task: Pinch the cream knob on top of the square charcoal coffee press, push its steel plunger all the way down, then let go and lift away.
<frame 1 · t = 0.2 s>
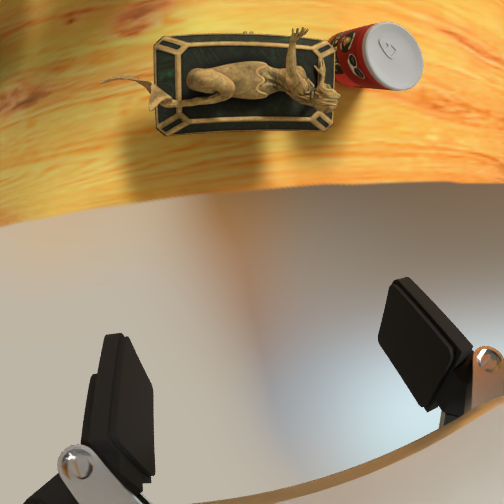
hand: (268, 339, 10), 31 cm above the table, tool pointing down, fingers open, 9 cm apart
canned food: (347, 59, 34), on the table
decorative box: (219, 83, 33), on the table
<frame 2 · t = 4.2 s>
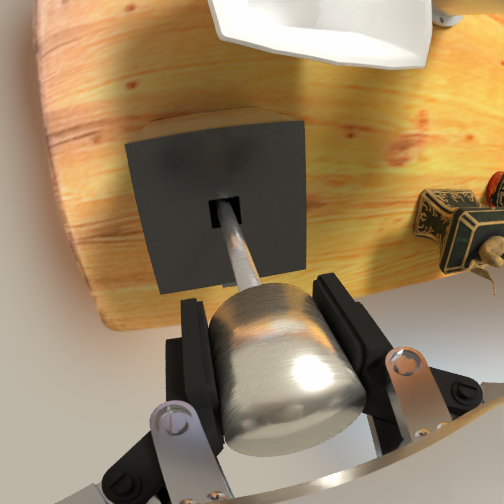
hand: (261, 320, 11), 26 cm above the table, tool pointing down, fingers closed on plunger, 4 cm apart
plunger: (236, 246, 16), point 21 cm above the table, slide at 0.0 cm, touching gripper
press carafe: (208, 160, 34), on the table
canned food: (496, 188, 45), on the table
decorative box: (437, 210, 44), on the table
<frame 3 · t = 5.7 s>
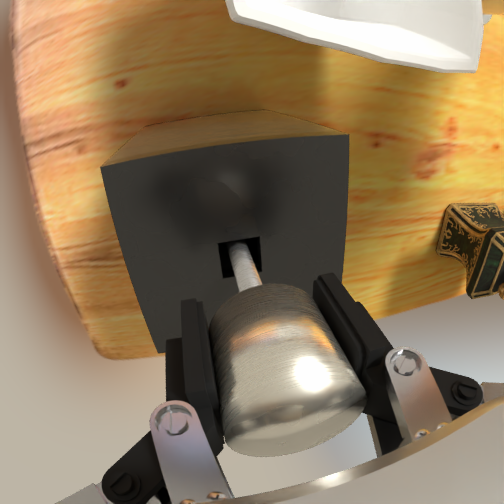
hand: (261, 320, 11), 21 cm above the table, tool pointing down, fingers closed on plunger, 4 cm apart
plunger: (237, 246, 16), point 15 cm above the table, slide at 5.9 cm, touching gripper
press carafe: (212, 172, 29), on the table
decorative box: (461, 226, 39), on the table
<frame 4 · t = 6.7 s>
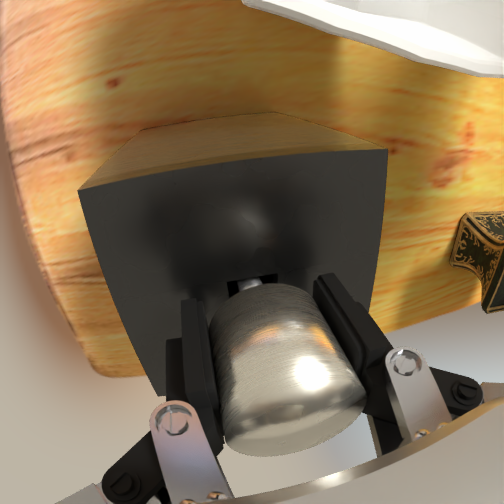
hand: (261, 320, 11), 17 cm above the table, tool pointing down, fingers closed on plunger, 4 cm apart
plunger: (237, 246, 16), point 12 cm above the table, slide at 9.1 cm, touching gripper
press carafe: (215, 182, 26), on the table
decorative box: (474, 235, 37), on the table
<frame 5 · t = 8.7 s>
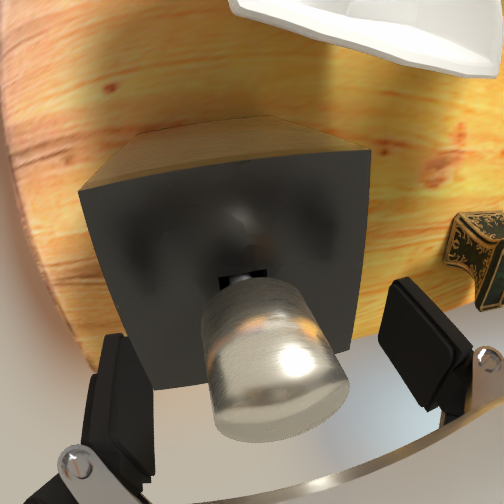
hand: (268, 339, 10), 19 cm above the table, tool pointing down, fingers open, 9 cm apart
plunger: (229, 245, 17), point 12 cm above the table, slide at 9.1 cm
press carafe: (210, 184, 27), on the table
decorative box: (468, 235, 38), on the table
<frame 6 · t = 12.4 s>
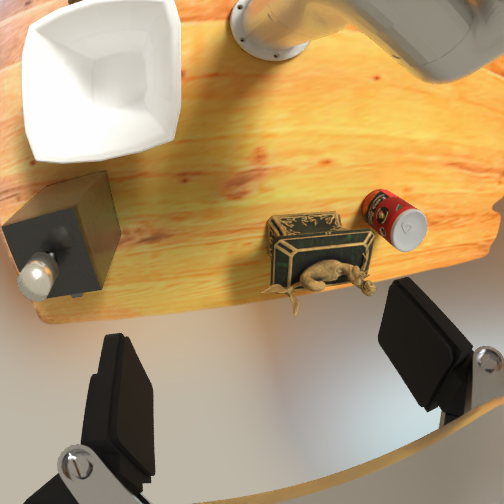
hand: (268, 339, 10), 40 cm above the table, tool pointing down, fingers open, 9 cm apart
plunger: (60, 242, 36), point 12 cm above the table, slide at 9.1 cm
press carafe: (83, 209, 46), on the table
bowl: (120, 79, 38), on the table
canned food: (377, 206, 57), on the table
decorative box: (294, 233, 56), on the table
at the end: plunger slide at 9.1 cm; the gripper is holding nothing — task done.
